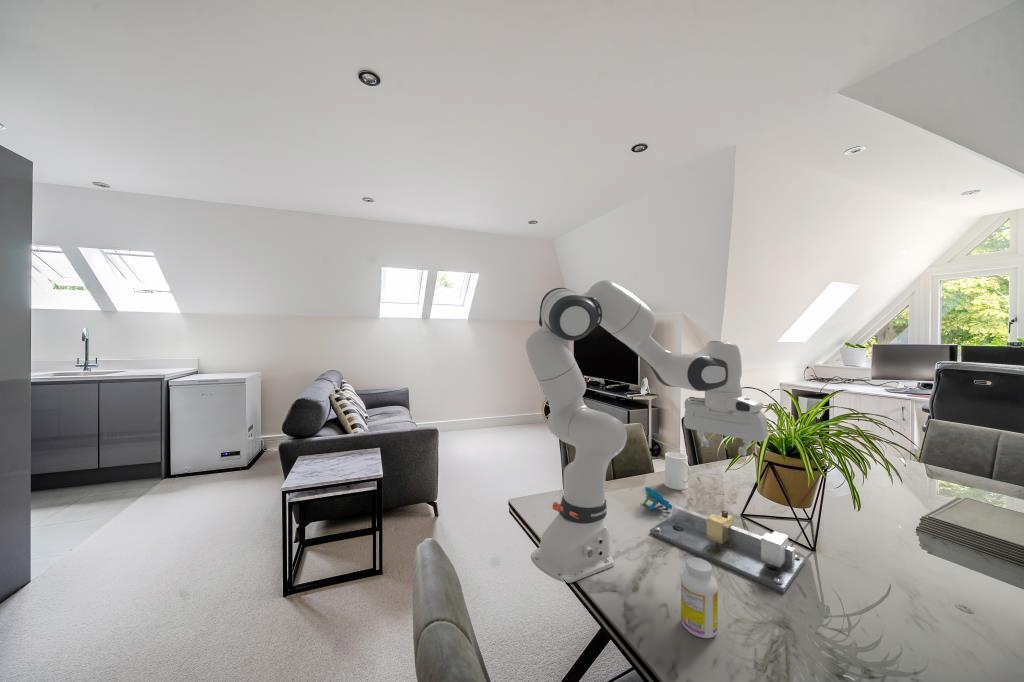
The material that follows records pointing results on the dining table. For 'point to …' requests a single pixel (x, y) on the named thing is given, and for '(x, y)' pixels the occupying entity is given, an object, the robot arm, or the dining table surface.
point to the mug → (676, 471)
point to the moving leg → (719, 527)
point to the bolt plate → (728, 555)
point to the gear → (655, 499)
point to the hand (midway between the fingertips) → (723, 450)
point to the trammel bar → (744, 538)
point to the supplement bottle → (699, 599)
